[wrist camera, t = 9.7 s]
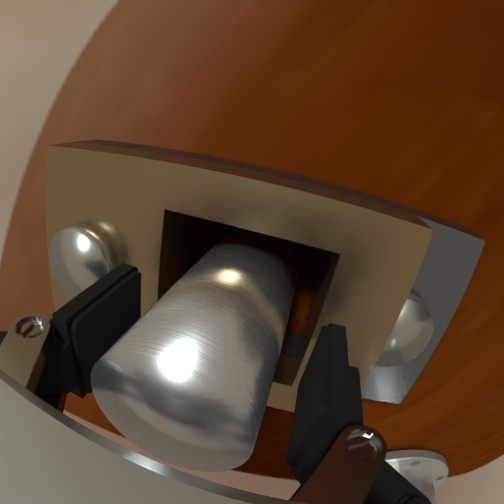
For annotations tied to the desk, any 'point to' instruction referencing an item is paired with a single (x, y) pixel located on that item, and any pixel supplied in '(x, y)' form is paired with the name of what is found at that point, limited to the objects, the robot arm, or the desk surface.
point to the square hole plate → (270, 223)
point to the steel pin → (204, 356)
